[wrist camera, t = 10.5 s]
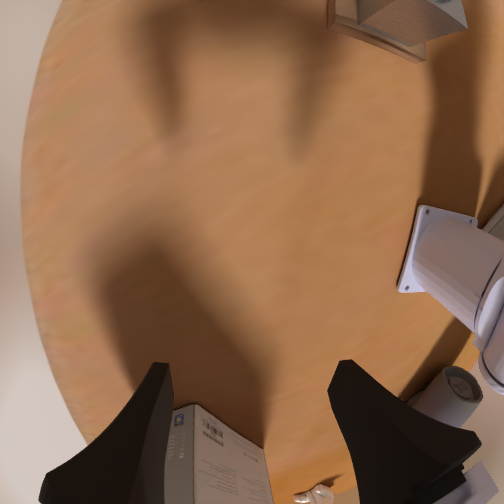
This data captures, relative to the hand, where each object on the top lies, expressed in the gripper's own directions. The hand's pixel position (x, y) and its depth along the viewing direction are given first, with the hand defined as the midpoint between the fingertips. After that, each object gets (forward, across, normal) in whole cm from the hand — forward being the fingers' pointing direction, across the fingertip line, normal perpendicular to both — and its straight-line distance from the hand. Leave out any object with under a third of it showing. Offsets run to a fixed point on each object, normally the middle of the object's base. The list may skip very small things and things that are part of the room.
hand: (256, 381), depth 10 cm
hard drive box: (+10, +2, +23) cm, 25 cm away
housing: (+8, -8, -23) cm, 26 cm away
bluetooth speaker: (+10, -28, +24) cm, 38 cm away
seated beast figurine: (+10, -22, +57) cm, 62 cm away
